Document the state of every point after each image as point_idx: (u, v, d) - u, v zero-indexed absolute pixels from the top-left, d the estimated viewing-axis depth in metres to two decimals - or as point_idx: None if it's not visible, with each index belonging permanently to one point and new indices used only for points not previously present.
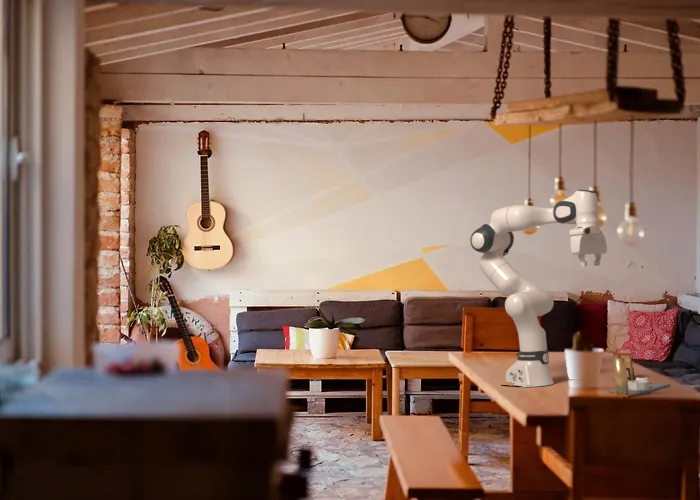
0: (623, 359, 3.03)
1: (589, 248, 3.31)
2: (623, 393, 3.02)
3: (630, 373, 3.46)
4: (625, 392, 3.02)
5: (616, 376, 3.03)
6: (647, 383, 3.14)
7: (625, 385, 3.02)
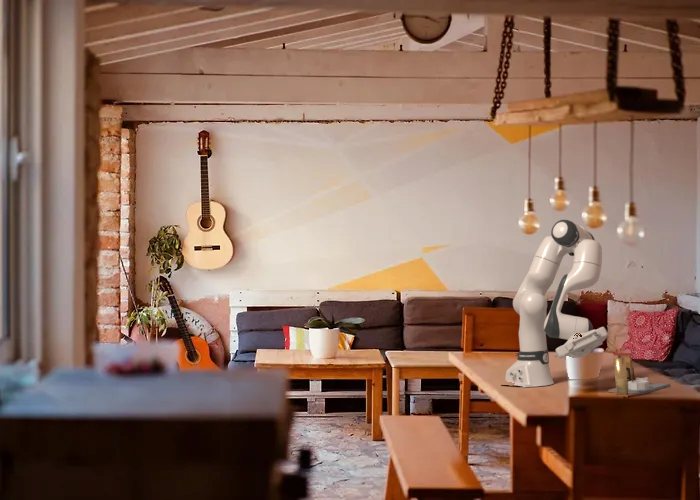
0: (623, 359, 3.03)
1: (590, 343, 3.19)
2: (623, 393, 3.02)
3: (630, 373, 3.46)
4: (625, 392, 3.02)
5: (616, 376, 3.03)
6: (647, 383, 3.14)
7: (625, 385, 3.02)
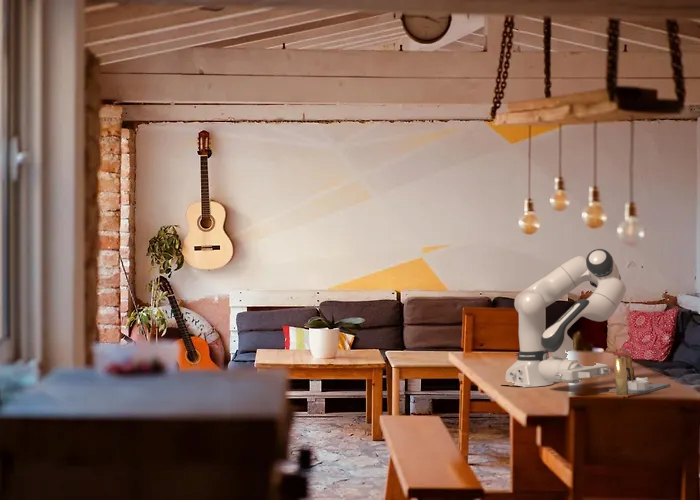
0: (623, 359, 3.03)
1: None
2: (623, 393, 3.02)
3: (630, 373, 3.46)
4: (625, 392, 3.02)
5: (616, 376, 3.03)
6: (647, 383, 3.14)
7: (625, 385, 3.02)
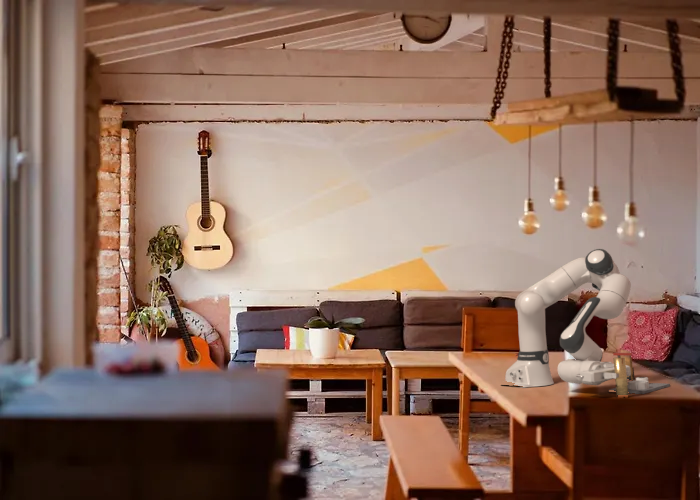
0: (623, 359, 3.03)
1: None
2: (623, 393, 3.02)
3: None
4: (625, 392, 3.02)
5: None
6: (647, 383, 3.14)
7: (625, 385, 3.02)
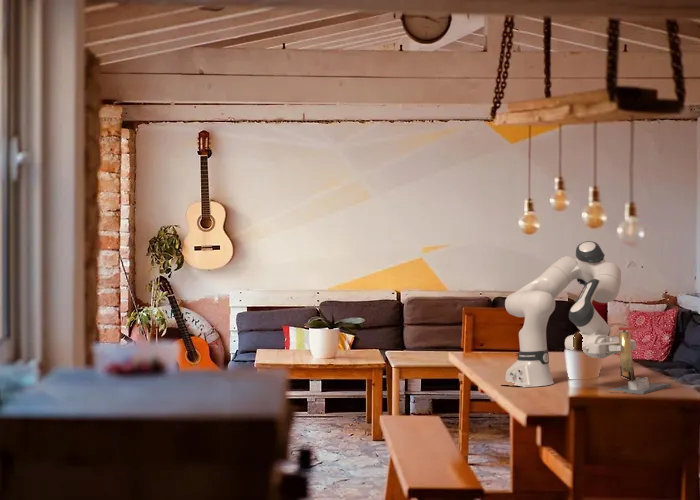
0: (628, 333, 3.10)
1: None
2: (627, 367, 3.09)
3: (630, 373, 3.46)
4: (630, 366, 3.09)
5: None
6: (647, 383, 3.14)
7: (629, 359, 3.09)
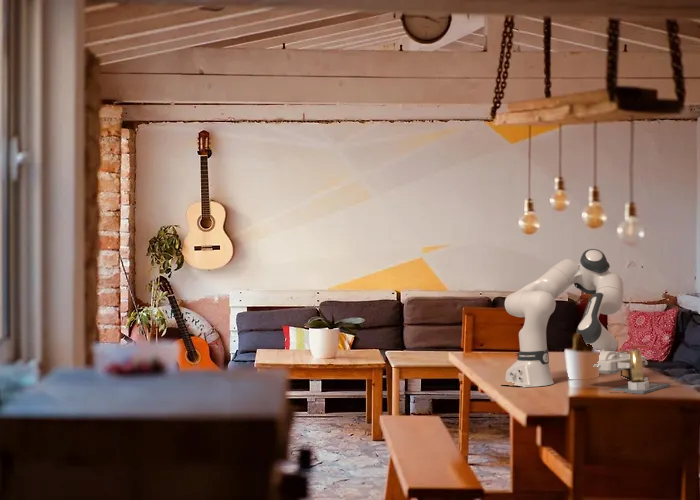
0: (639, 351, 3.14)
1: None
2: None
3: (630, 373, 3.46)
4: None
5: (633, 368, 3.15)
6: (647, 383, 3.14)
7: (641, 376, 3.14)
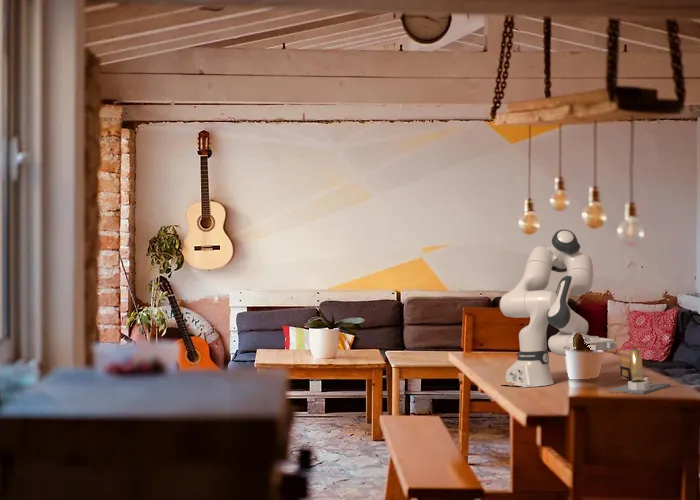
0: (639, 351, 3.15)
1: None
2: None
3: (630, 373, 3.46)
4: None
5: (632, 368, 3.15)
6: (647, 383, 3.14)
7: (641, 376, 3.14)
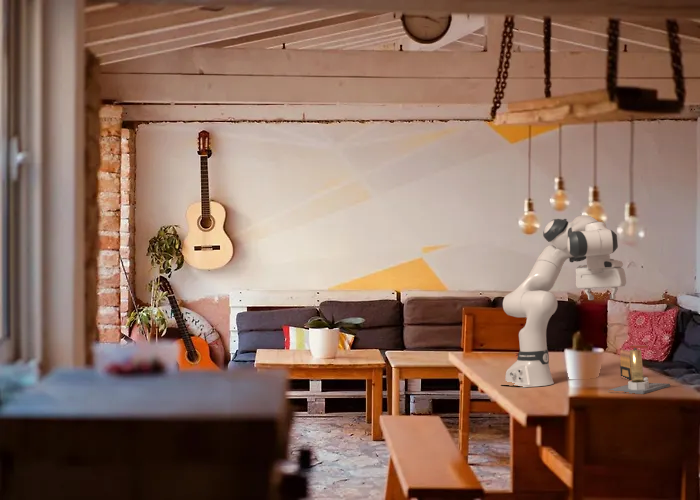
0: (639, 351, 3.14)
1: None
2: None
3: (630, 373, 3.46)
4: None
5: (633, 368, 3.15)
6: (647, 383, 3.14)
7: (641, 376, 3.14)
